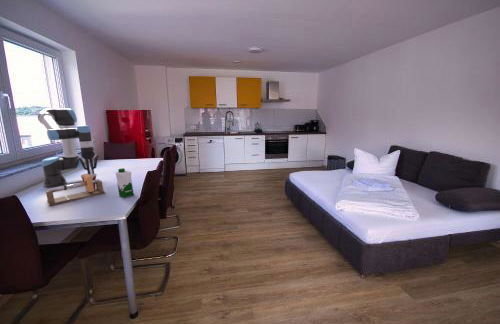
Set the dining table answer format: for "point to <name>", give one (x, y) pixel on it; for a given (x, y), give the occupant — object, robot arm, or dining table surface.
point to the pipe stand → (74, 195)
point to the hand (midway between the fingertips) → (91, 178)
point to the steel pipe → (72, 186)
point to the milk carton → (124, 183)
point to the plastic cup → (92, 178)
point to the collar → (88, 183)
